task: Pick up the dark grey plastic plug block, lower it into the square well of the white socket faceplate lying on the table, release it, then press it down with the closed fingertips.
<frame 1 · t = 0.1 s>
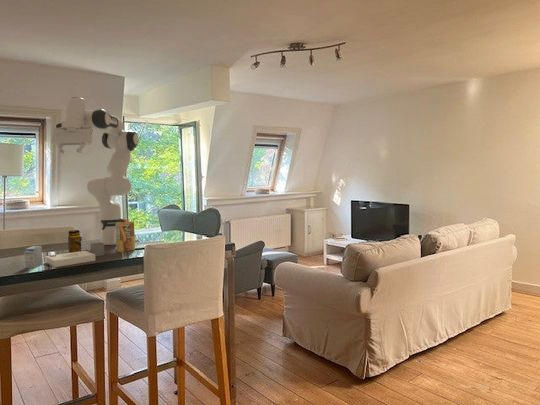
hand: (70, 152, 212), 52 cm above the table, tool tilted 20°, fingers open, 8 cm apart
medicine box: (34, 266, 195), on the table
plug: (97, 255, 218), on the table
candy box: (126, 251, 228), on the table
condiment: (73, 253, 224), on the table
socket: (70, 261, 203), on the table
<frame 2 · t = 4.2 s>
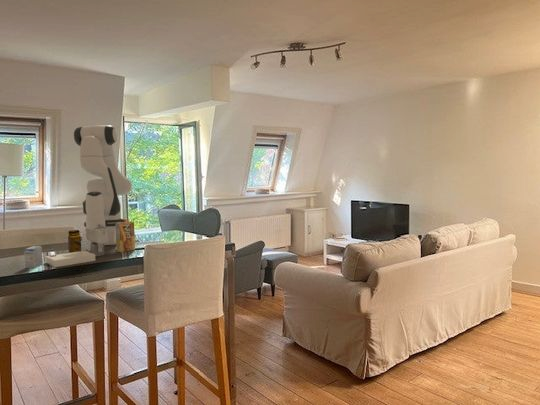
hand: (97, 250, 217), 2 cm above the table, tool pointing down, fingers closed on plug, 5 cm apart
plug: (97, 255, 218), on the table, touching gripper
everything else where it was.
when the fingers open (4 cm above the table, at t = 9.3 s): plug drops 1 cm, resting on socket.
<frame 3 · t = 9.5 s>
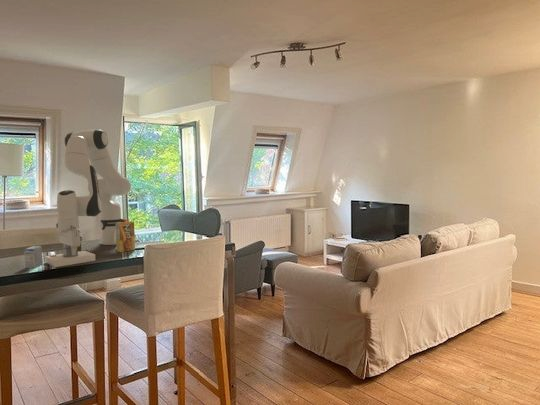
hand: (70, 253, 203), 4 cm above the table, tool pointing down, fingers open, 7 cm apart
plug: (70, 260, 203), point 1 cm above the table, touching socket
everything else where it was.
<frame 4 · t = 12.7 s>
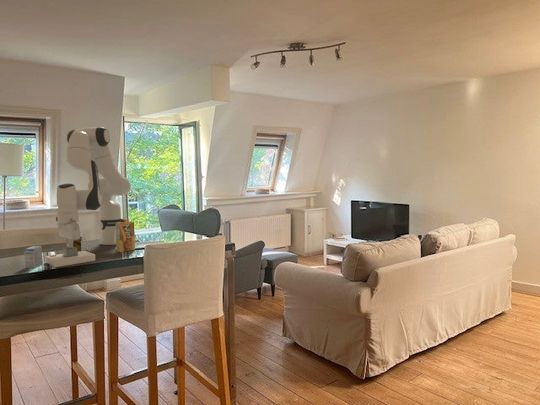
hand: (70, 247, 203), 7 cm above the table, tool pointing down, fingers closed
nothing on the table moved.
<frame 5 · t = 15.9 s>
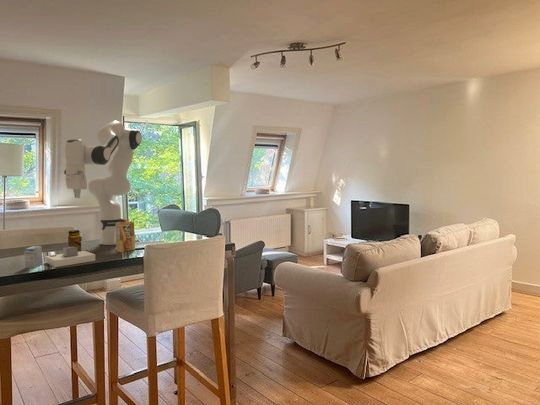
hand: (77, 198, 219), 29 cm above the table, tool pointing down, fingers closed
nothing on the table moved.
at the end: plug 0.1 cm off-centre on the socket, point 0.5 cm above the socket's base; plug tilted 0°; the gripper is holding nothing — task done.
